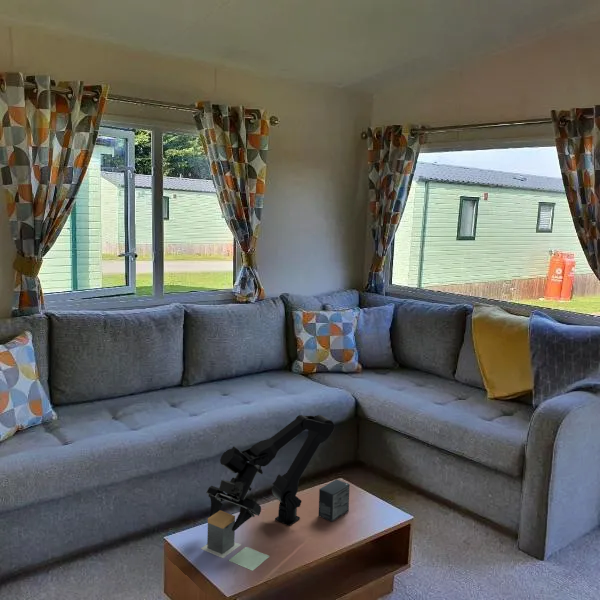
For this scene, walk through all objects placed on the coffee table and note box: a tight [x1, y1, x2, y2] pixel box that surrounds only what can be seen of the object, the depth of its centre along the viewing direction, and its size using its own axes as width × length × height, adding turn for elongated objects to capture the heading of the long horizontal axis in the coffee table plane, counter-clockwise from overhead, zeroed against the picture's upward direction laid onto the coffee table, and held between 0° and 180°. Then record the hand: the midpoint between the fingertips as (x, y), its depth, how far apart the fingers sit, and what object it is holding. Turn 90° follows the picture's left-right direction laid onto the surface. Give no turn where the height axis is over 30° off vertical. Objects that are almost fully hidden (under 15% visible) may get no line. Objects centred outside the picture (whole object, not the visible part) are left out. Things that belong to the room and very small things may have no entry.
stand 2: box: [228, 546, 270, 572], centre depth 179 cm, size 9×9×1 cm
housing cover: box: [207, 510, 236, 529], centre depth 184 cm, size 6×6×3 cm
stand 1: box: [200, 541, 242, 559], centre depth 185 cm, size 9×9×1 cm
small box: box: [318, 479, 350, 523], centre depth 209 cm, size 11×6×10 cm, turn 141°
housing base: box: [206, 520, 236, 554], centre depth 184 cm, size 6×6×8 cm
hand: (221, 526), depth 184 cm, fingers open, 9 cm apart
